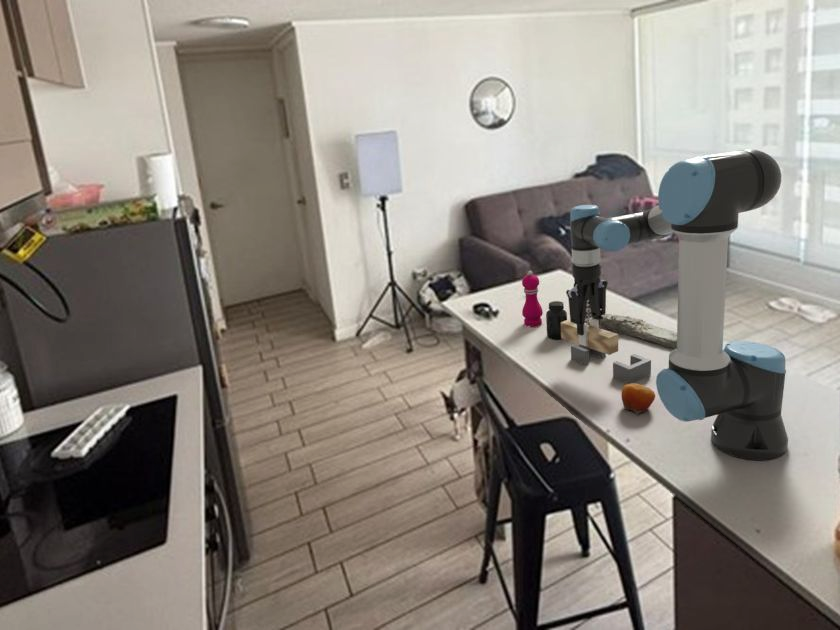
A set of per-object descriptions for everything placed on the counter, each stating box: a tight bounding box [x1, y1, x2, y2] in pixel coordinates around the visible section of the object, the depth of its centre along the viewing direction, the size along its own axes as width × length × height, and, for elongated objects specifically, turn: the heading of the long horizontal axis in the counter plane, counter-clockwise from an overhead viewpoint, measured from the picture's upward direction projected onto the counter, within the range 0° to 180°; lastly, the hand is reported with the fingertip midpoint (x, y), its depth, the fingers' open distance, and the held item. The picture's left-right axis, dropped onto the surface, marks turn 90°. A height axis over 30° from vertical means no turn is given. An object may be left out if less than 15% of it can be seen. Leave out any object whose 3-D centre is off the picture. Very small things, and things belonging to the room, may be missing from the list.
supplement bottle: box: [545, 300, 568, 341], centre depth 203 cm, size 7×7×12 cm
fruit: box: [621, 382, 656, 417], centre depth 154 cm, size 8×8×8 cm
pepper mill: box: [521, 270, 544, 328], centre depth 215 cm, size 7×7×20 cm
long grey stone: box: [600, 313, 677, 349], centre depth 198 cm, size 35×5×10 cm
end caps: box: [570, 343, 652, 385], centre depth 179 cm, size 23×8×4 cm, turn 29°
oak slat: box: [561, 319, 619, 356], centre depth 172 cm, size 18×4×5 cm, turn 33°
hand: (589, 342), depth 172 cm, fingers closed on oak slat, 4 cm apart
